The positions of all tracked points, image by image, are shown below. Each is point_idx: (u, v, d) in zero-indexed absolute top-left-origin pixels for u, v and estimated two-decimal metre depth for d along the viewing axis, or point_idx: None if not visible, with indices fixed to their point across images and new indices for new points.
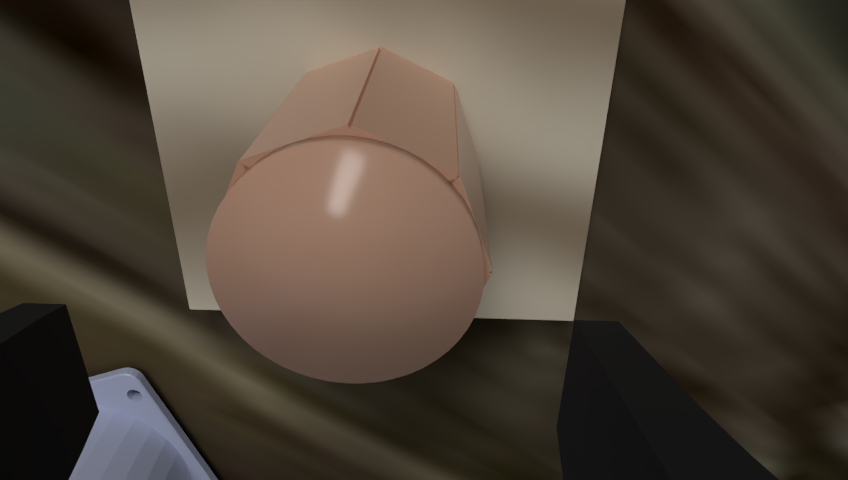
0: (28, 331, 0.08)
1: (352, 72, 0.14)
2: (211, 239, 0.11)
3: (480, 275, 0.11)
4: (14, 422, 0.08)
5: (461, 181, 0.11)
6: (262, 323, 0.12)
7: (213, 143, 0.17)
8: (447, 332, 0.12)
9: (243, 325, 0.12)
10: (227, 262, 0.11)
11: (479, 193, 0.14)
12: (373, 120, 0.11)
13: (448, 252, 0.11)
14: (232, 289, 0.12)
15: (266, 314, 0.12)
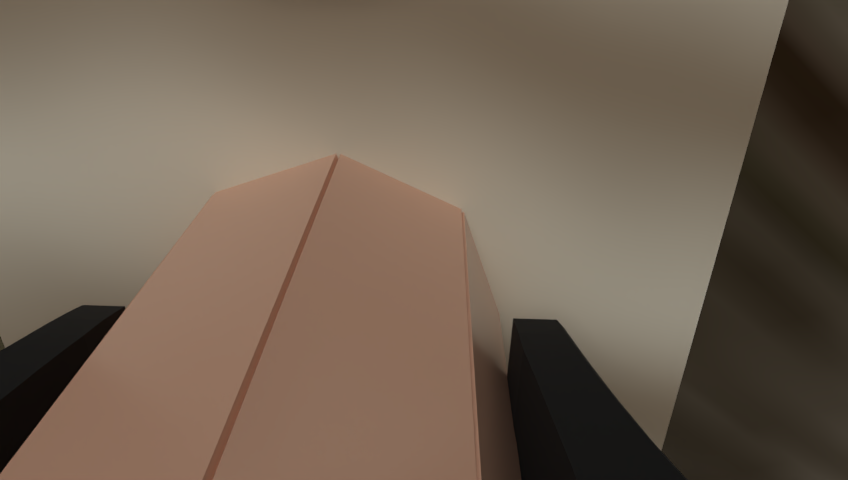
0: (93, 333, 0.08)
1: (276, 223, 0.08)
2: None
3: None
4: None
5: None
6: None
7: (74, 295, 0.11)
8: None
9: None
10: None
11: (512, 451, 0.08)
12: (278, 435, 0.05)
13: None
14: None
15: None
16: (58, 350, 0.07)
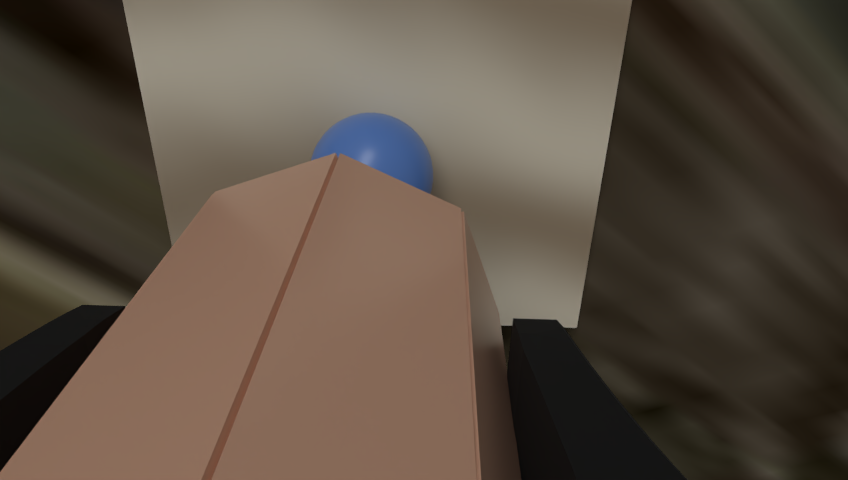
0: (93, 333, 0.08)
1: (276, 222, 0.08)
2: None
3: None
4: None
5: None
6: None
7: (209, 147, 0.17)
8: None
9: None
10: None
11: (512, 450, 0.08)
12: (277, 434, 0.05)
13: None
14: None
15: None
16: (58, 350, 0.07)
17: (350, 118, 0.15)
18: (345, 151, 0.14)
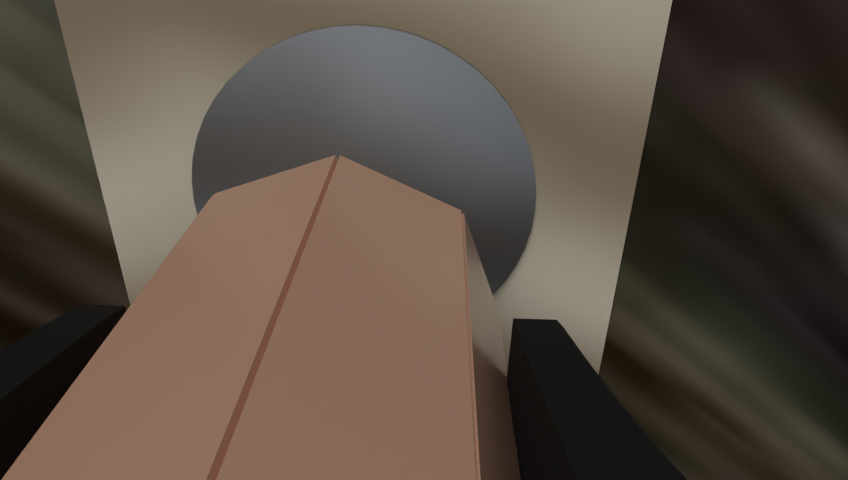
0: (93, 333, 0.08)
1: (276, 226, 0.08)
2: None
3: None
4: None
5: None
6: None
7: None
8: None
9: None
10: None
11: (511, 454, 0.08)
12: (277, 445, 0.05)
13: None
14: None
15: None
16: (58, 350, 0.07)
17: None
18: None
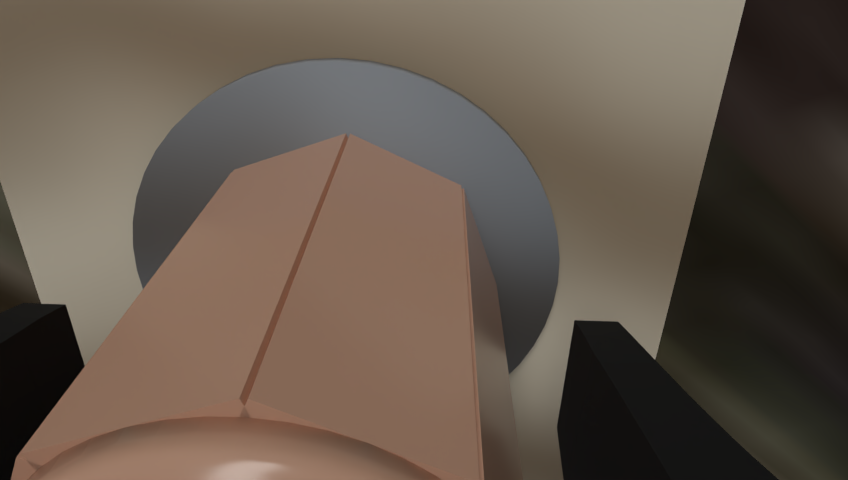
0: (28, 331, 0.08)
1: (294, 192, 0.08)
2: None
3: None
4: (14, 422, 0.08)
5: None
6: None
7: None
8: None
9: None
10: None
11: (507, 398, 0.08)
12: (305, 357, 0.05)
13: None
14: None
15: None
16: None
17: None
18: None
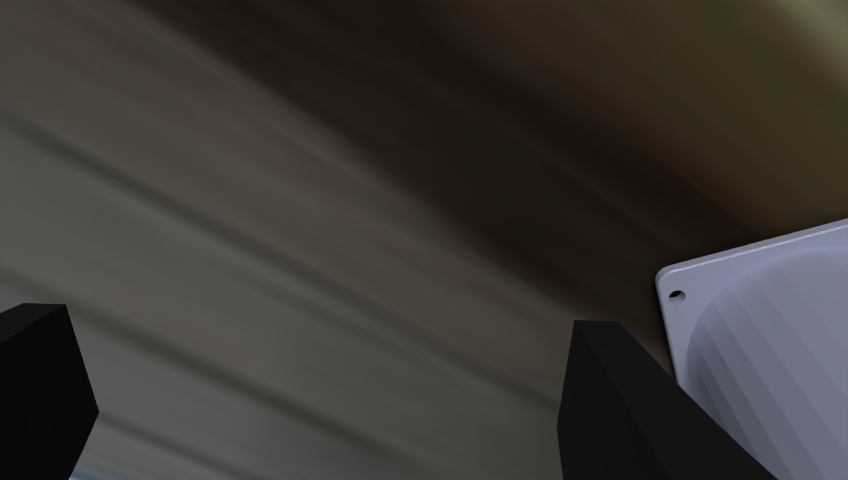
0: (28, 331, 0.08)
1: None
2: None
3: None
4: (14, 422, 0.08)
5: None
6: None
7: None
8: None
9: None
10: None
11: None
12: None
13: None
14: None
15: None
16: None
17: None
18: None
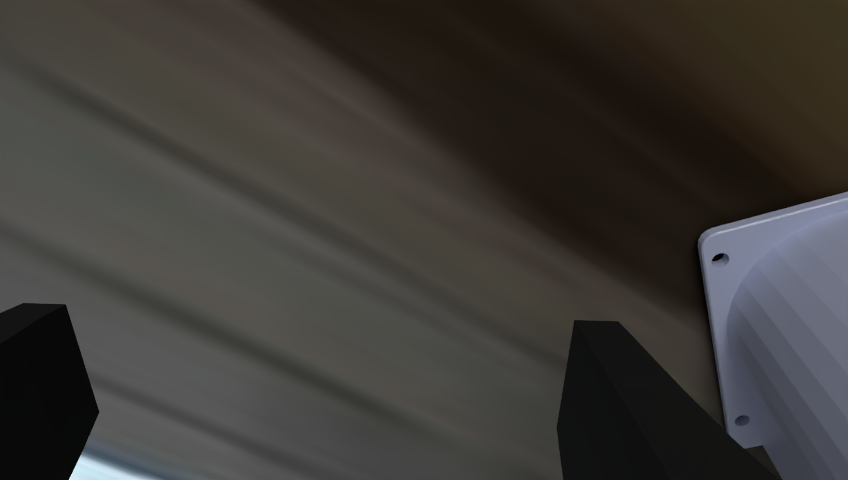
0: (28, 331, 0.08)
1: None
2: None
3: None
4: (14, 422, 0.08)
5: None
6: None
7: None
8: None
9: None
10: None
11: None
12: None
13: None
14: None
15: None
16: None
17: None
18: None
